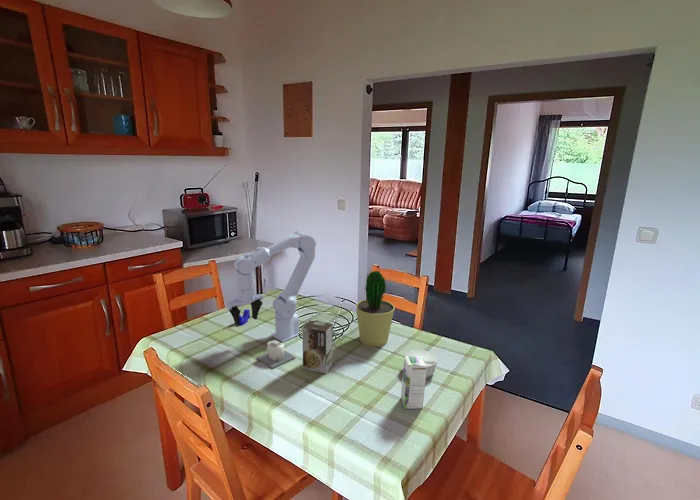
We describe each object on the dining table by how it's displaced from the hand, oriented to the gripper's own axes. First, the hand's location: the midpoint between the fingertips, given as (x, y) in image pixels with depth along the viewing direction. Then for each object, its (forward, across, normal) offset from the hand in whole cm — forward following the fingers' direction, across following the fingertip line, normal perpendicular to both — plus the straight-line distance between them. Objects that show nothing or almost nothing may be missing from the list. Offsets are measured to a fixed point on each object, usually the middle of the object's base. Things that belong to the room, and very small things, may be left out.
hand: (246, 321), depth 144 cm
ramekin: (+10, -33, +58) cm, 68 cm away
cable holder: (+10, -11, -20) cm, 25 cm away
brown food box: (+10, -9, +31) cm, 34 cm away
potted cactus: (+10, -39, +32) cm, 51 cm away
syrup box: (+10, -16, +66) cm, 69 cm away
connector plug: (+9, -2, +16) cm, 19 cm away
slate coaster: (+10, -2, +16) cm, 19 cm away
